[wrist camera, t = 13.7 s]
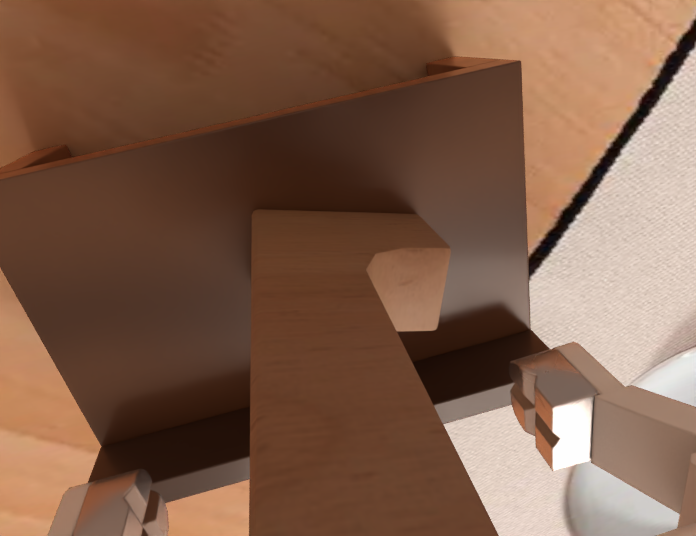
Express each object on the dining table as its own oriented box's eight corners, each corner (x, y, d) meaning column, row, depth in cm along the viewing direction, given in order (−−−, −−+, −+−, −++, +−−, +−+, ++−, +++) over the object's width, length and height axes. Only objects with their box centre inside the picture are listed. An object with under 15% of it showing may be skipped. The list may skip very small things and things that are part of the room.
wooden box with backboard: (32, 151, 22) (-103, 218, 14) (455, 56, 24) (569, 63, 15) (140, 377, 28) (92, 524, 19) (476, 289, 29) (568, 389, 21)
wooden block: (251, 286, 20) (247, 811, 6) (251, 207, 18) (247, 655, 5) (408, 286, 21) (689, 723, 7) (420, 212, 20) (784, 580, 6)
